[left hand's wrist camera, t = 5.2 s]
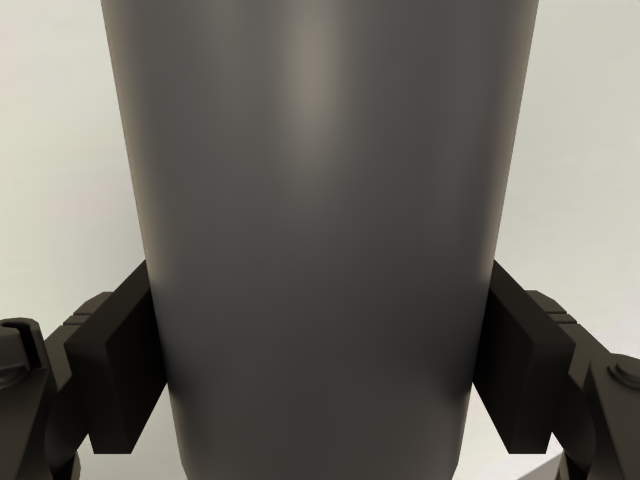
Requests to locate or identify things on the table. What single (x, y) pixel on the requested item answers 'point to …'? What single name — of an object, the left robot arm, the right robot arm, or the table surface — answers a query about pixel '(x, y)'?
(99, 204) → the table surface
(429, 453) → the rod
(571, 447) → the left robot arm
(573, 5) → the table surface
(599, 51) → the table surface
